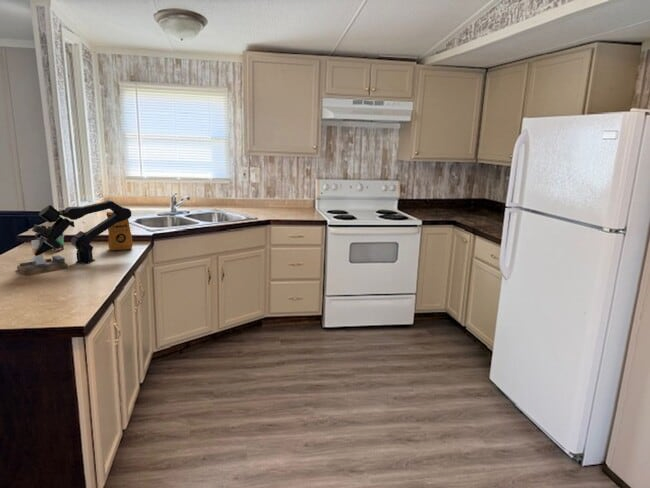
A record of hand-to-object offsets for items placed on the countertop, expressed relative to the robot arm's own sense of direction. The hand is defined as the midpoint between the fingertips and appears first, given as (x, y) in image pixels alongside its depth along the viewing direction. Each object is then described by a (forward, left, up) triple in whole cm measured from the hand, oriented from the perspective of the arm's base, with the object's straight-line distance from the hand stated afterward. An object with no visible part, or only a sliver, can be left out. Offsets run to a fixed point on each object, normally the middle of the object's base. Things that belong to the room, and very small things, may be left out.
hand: (34, 254), depth 207 cm
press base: (-2, -2, -8) cm, 8 cm away
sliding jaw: (-1, -1, -5) cm, 6 cm away
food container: (+17, -38, -8) cm, 42 cm away
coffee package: (-15, -46, -8) cm, 49 cm away
